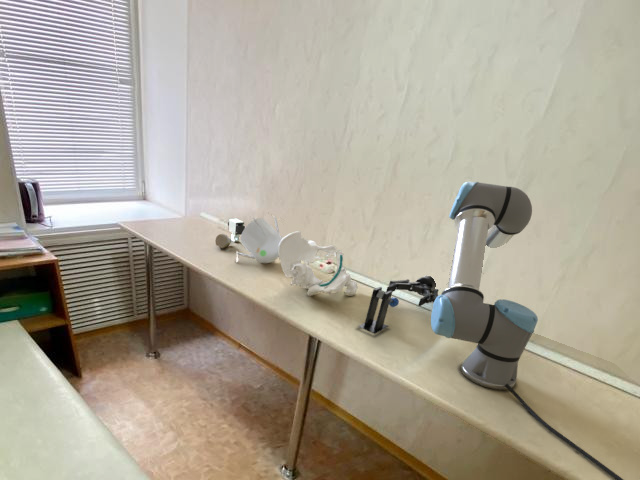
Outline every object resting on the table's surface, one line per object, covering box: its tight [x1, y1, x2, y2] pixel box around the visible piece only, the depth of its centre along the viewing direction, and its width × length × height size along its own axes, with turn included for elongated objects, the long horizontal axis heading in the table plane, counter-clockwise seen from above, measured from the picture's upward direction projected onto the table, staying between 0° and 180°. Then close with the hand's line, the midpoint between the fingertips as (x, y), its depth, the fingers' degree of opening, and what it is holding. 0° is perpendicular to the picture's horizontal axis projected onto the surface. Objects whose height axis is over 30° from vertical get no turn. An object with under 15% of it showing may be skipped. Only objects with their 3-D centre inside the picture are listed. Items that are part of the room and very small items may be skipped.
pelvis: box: [278, 230, 359, 297], centre depth 170 cm, size 35×23×30 cm
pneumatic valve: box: [227, 218, 246, 243], centre depth 225 cm, size 6×12×12 cm, turn 30°
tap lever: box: [376, 290, 400, 308], centre depth 148 cm, size 16×4×4 cm, turn 137°
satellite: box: [235, 212, 286, 264], centre depth 198 cm, size 23×20×25 cm
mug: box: [214, 233, 232, 249], centre depth 216 cm, size 8×10×10 cm
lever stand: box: [357, 286, 394, 335], centre depth 145 cm, size 10×7×15 cm
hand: (403, 296), depth 157 cm, fingers open, 13 cm apart
